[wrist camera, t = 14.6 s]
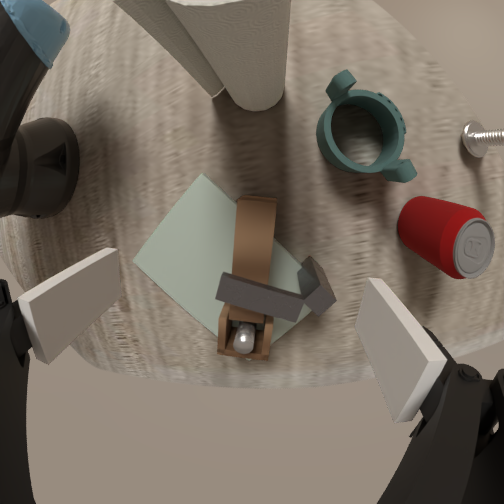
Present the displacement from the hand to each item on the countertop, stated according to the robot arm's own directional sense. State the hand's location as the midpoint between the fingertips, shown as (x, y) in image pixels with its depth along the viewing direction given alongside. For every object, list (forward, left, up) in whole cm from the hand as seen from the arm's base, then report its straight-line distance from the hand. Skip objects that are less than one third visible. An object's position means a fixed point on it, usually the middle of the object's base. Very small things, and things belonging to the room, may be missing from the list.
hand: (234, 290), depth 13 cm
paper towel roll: (-11, +11, -19) cm, 24 cm away
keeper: (+5, -3, -19) cm, 19 cm away
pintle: (+7, -9, -17) cm, 21 cm away
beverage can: (+14, +14, -19) cm, 27 cm away
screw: (+12, +28, -19) cm, 36 cm away
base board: (+2, -7, -19) cm, 20 cm away
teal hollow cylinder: (+1, +15, -19) cm, 24 cm away
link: (+3, -4, -17) cm, 18 cm away
